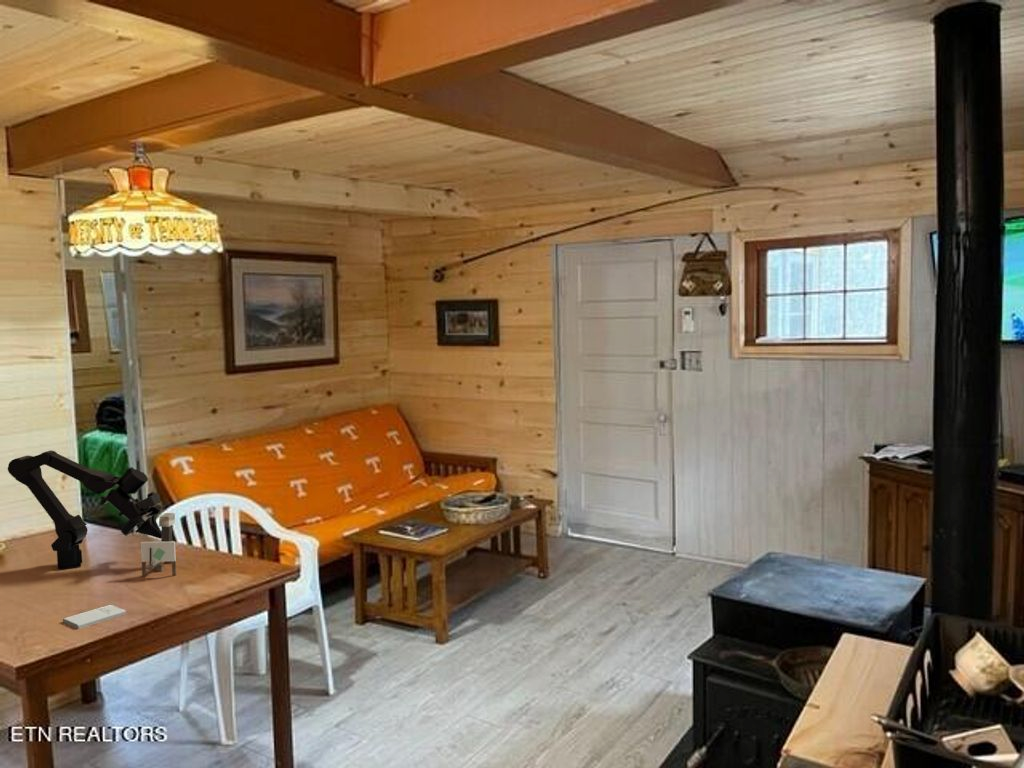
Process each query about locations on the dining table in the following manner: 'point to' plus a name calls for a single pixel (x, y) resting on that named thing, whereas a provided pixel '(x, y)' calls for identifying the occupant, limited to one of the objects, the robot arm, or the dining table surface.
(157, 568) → the peg stand
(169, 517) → the block-topped post frame
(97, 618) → the external hard drive
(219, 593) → the dining table surface
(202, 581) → the dining table surface
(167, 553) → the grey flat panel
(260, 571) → the dining table surface
